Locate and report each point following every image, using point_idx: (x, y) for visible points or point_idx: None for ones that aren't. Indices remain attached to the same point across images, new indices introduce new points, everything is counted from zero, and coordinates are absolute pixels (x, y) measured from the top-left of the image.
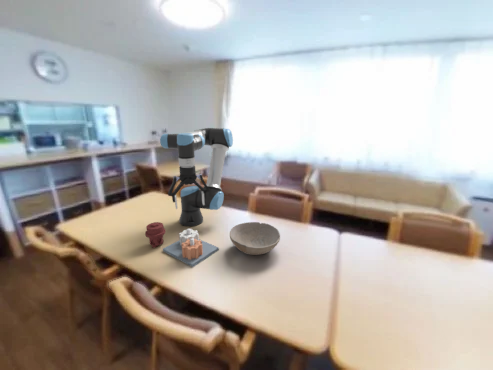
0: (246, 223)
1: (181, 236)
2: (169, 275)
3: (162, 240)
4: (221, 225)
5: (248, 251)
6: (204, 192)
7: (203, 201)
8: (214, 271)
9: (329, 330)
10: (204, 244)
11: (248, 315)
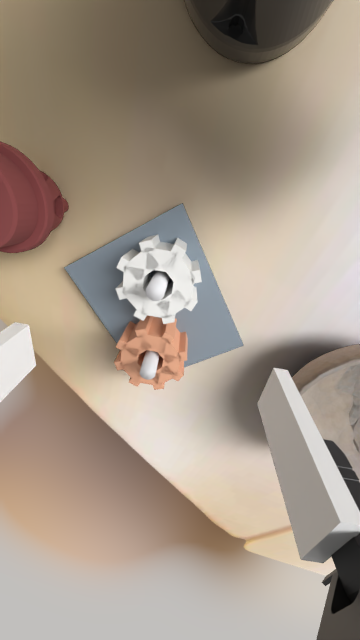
0: None
1: (122, 296)
2: (87, 379)
3: (56, 221)
4: None
5: None
6: (341, 584)
7: (271, 439)
8: (187, 408)
9: (266, 533)
10: (209, 308)
11: (192, 492)
